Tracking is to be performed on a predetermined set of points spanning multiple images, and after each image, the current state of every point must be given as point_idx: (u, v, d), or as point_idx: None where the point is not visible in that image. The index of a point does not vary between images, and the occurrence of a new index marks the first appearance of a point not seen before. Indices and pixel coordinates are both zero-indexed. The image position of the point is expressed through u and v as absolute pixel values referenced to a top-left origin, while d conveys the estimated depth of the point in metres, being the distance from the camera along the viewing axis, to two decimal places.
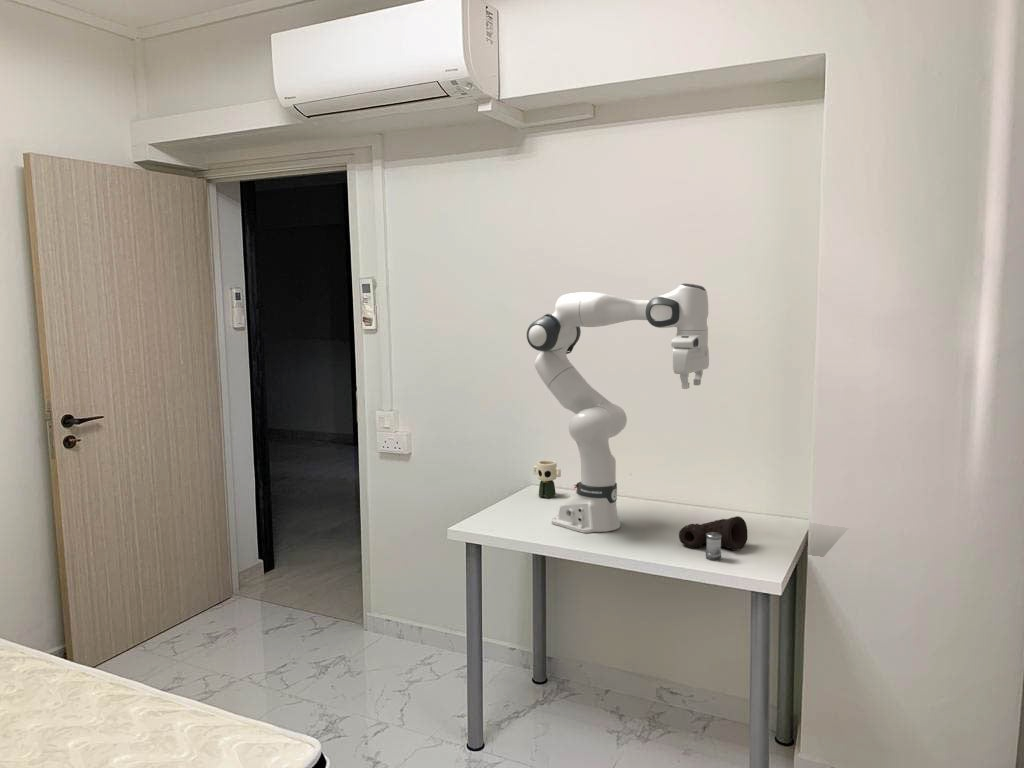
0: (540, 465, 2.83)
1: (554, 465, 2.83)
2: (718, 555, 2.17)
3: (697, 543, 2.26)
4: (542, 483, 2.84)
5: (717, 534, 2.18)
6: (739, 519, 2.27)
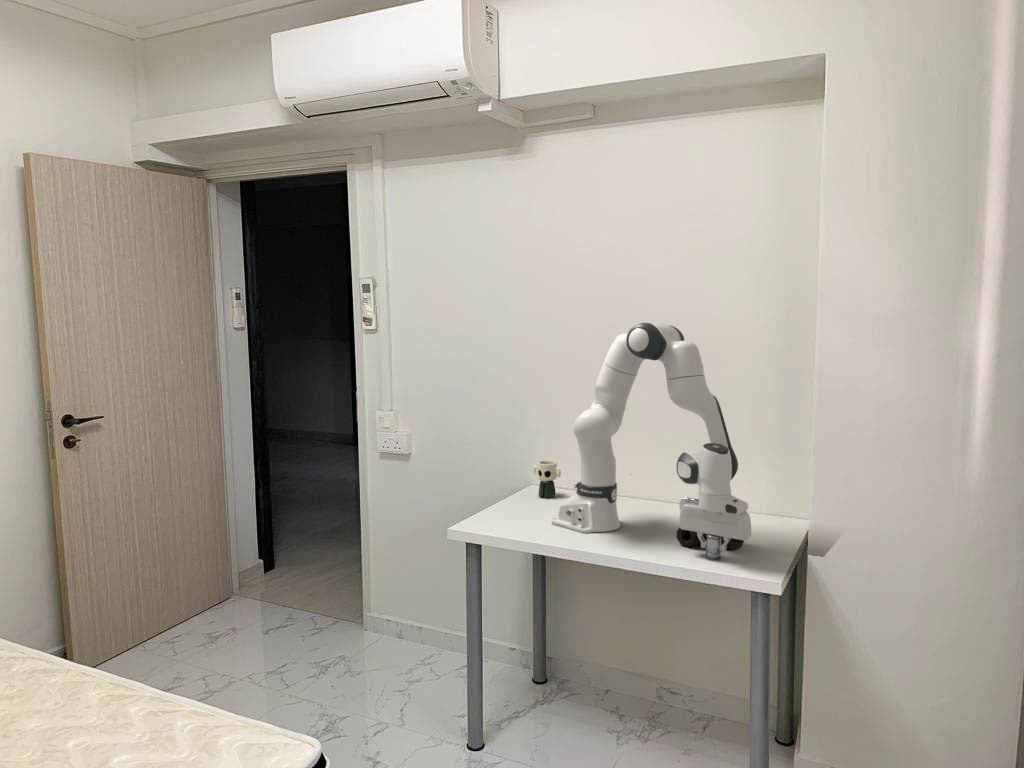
0: (540, 465, 2.83)
1: (554, 465, 2.83)
2: (718, 555, 2.17)
3: (694, 542, 2.27)
4: (542, 483, 2.84)
5: None
6: None
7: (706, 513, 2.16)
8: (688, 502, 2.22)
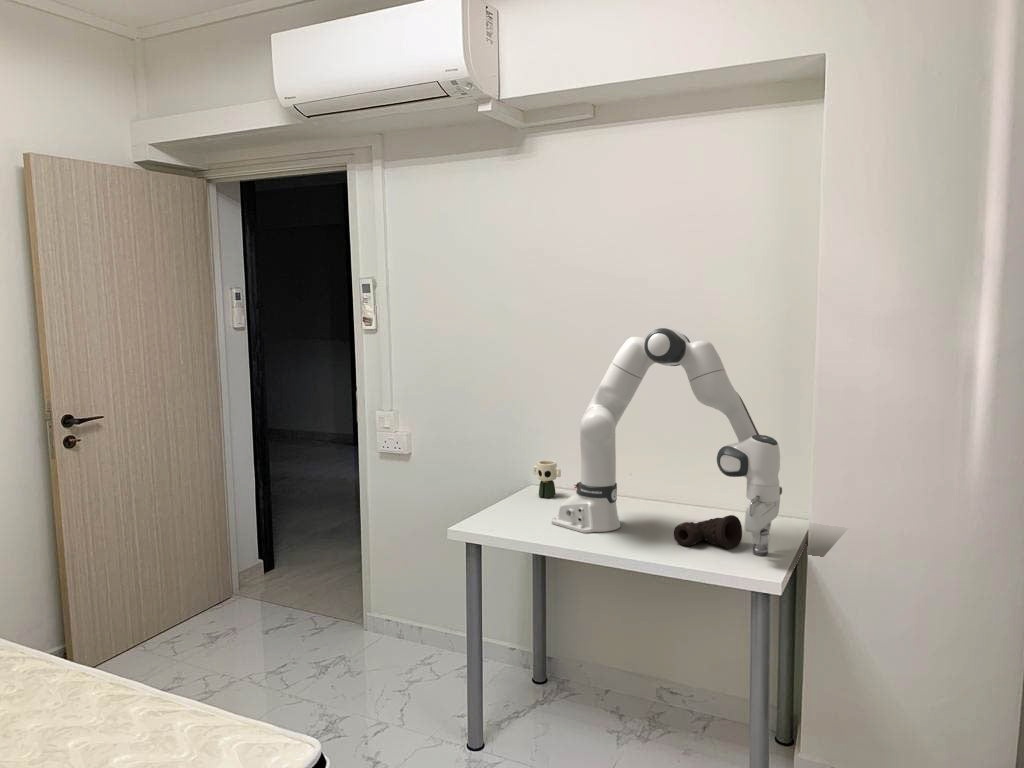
0: (540, 465, 2.83)
1: (554, 465, 2.83)
2: None
3: (691, 541, 2.28)
4: (542, 483, 2.84)
5: None
6: (733, 518, 2.29)
7: (771, 504, 2.18)
8: (755, 503, 2.14)
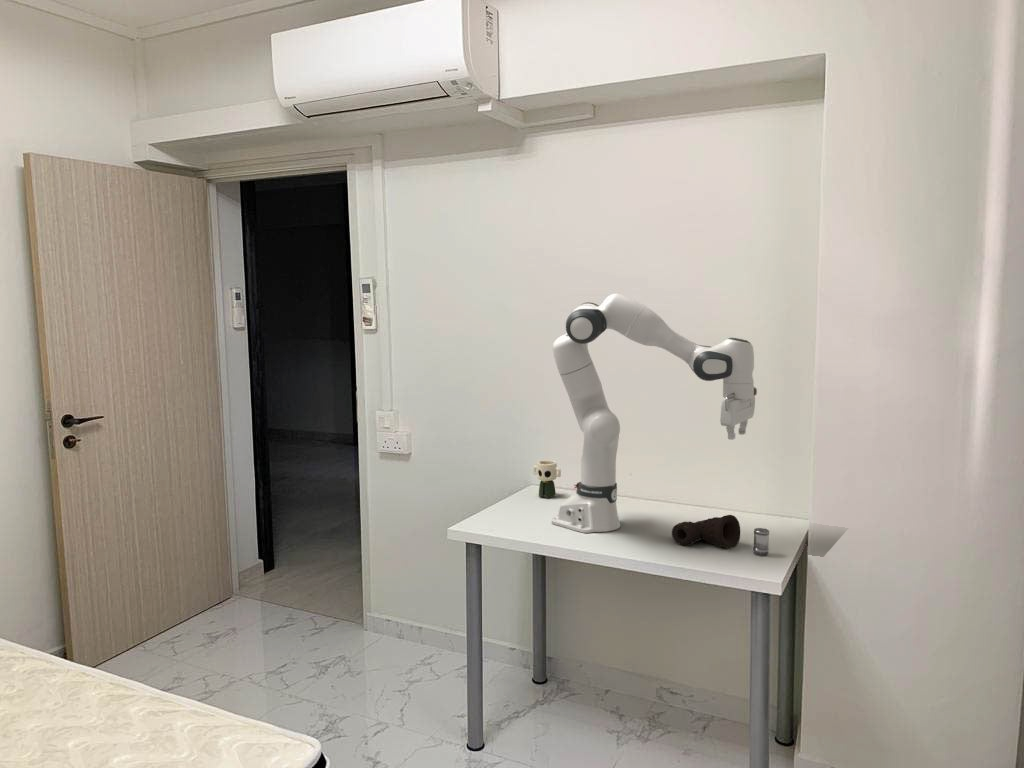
0: (540, 465, 2.83)
1: (554, 465, 2.83)
2: None
3: (689, 541, 2.28)
4: (542, 483, 2.84)
5: (760, 529, 2.23)
6: (731, 517, 2.29)
7: (745, 402, 2.31)
8: (730, 398, 2.27)
